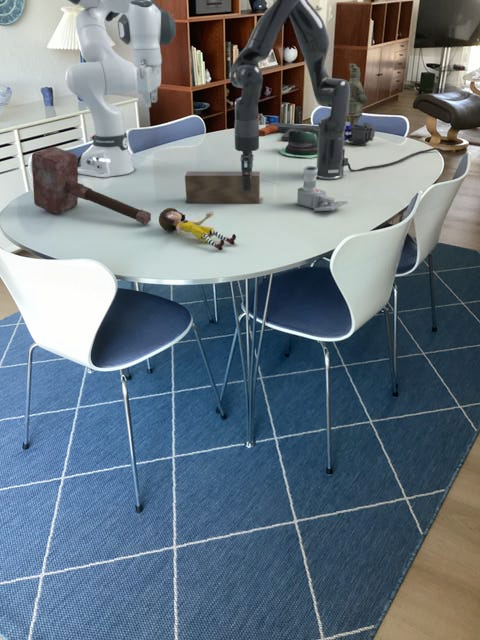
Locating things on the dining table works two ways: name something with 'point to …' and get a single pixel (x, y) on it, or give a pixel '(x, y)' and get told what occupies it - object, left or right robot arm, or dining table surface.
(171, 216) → the figurine
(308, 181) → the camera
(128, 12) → the left robot arm
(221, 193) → the bar
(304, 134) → the green brimmed hat
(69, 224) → the dining table surface
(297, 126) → the submachine gun
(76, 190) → the sledgehammer
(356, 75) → the statue
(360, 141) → the toy
